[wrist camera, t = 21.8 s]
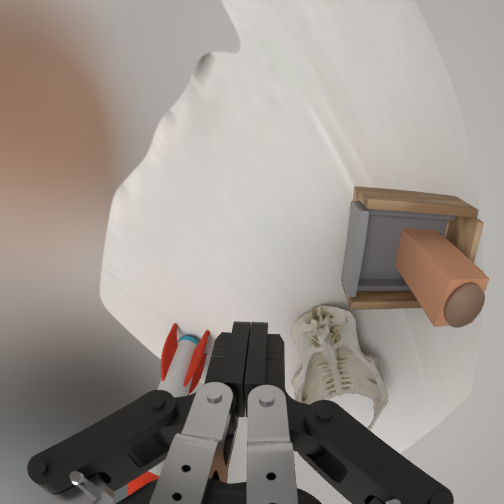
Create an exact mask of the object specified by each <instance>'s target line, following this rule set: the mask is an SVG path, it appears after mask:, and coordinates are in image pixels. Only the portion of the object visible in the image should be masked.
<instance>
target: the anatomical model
mask: <svg viewBox="0 0 504 504" xmlns="http://www.w3.org/2000/svg"><path fill="white" fill-rule="evenodd" d="M291 334H292V338H293V340H294V342H295V344H296V346H297V348H298V351H299V355H300V359H301V363H302V368H301V370H300V372H298V373H297V374H295V376H294V377H293V378H292V379H291V382H292V385H293V386H294V389H295V400H296V401H298V402H301V403H305V404H309V405H310V404H311V403H313V402H315V401H319V400H324V398H325V397H326V399H328V400H329V399H330V398H332V397H334V396H336V395H342V394H344V393H353V394H354V393H355V392H356V393H358V394H361V395H364V396H367V397H369V398H371V399H373V401H374V411H375V413H374V418H373V420H372V422H371V424H370V425H369V426H368V428H367V429H368V430H371V428H372V427H373V425H374V423H375V422H376V420H377V418H378V417H379V415H380V413H381V412H382V410H383V409H384V407H385V406H386V405H387V403H388V394H387V390H386V387H385V385H384V383H383V378H382V375H381V373H380V370H379V366H378V365H379V359H378V358H376V357H373V356H372V355H365V354H364V353H362V352H361V349H360V346H359V342H358V338H357V332H356V319H355V318H354V316H353V315H352V313H351V312H349V311H346V310H344V309H341V308H338V307H330V306H322V305H320V306H318V307H314V308H313V309H312V310H311V311H310V312H309V313H307V314H305V315H303V316H302V317H300V318H299V319H298V320H297V322H296V323H295V324H294V326H293V327H292V329H291ZM348 350H349V351H348ZM346 381H347V383H346ZM344 387H349V389H348V390H344V389H343V388H344ZM333 390H335V392H333V393H330V391H333Z"/></svg>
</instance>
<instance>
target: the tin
mask: <svg viewBox="0 0 504 504" xmlns="http://www.w3.org/2000/svg"><path fill="white" fill-rule="evenodd" d="M395 267H396V269H397V270H398V272H399V273H400V275H401V276H402V277H403V279H404V280H405V282H406V283H407V285H408V286H409V288H410V289H411V291H412V292H413V294H414V295H415V297H416V299H417V300H418V302H419V303H420V305H421V306H422V308H423V310H424V311H425V313H426V314H427V316H428V318H429V319H430V321H431V322H432V324H433V326H434V327H437V326H447V325H451V326H452V327H462V326H465V325H467V324H469V323H473V320H474V319H475V318H476V317H477V315H478V314H479V313H480V311H481V309H482V307H483V304H484V300H485V295H484V292H485V289H486V286H487V284H488V281H489V278H488V277H487V276H486V275H485V274H484V273H483V272H482V271H481V270H480V269H479V268H478V267H477V266H476V265H475V264H474V263H473V262H472V261H471V260H470V259H469V258H467V257H466V256H465V255H464V254H463V253H462V252H461V251H460V250H459V249H458V248H456V247H455V246H454V245H453V244H452V243H451V242H450V241H449V240H447V239H446V238H445V237H444V236H443V235H442V234H440V233H439V232H438V231H437V230H428V229H409V228H402V231H401V237H400V242H399V248H398V253H397V258H396V263H395Z"/></svg>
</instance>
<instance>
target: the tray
mask: <svg viewBox="0 0 504 504" xmlns="http://www.w3.org/2000/svg"><path fill="white" fill-rule="evenodd" d="M455 218H456V216H451V215H441V214H430V213H419V212H407V211H393V210H379V209H367V208H366V207H365V206H364V205H363V204H362V203H361V202H360V201H352V202H351V212H350V221H349V230H348V238H347V246H346V253H345V260H344V267H343V274H342V280H341V281H342V283H343V286H344V289H345V292H346V295H347V297H356V292H357V291H411V289H410V288H409V286H408V285H407V283H406V282H405V280H404V279H403V277H402V276H401V275H400V273H399V272H398V270H397V269H396V267H395V263H396V258H397V253H398V248H399V242H400V237H401V231H402V228H409V229H428V230H437V231H438V232H439V233H440V234H442V235H443V236H445V232H446V227H447V222H448V220H454V221H455Z"/></svg>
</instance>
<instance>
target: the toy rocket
mask: <svg viewBox="0 0 504 504" xmlns="http://www.w3.org/2000/svg"><path fill="white" fill-rule="evenodd" d="M208 336H209V331H208V330H207V331H206V332H205V333H204V335H203V337H202V339H201V340H200V342H198V341H197V340H196V339H194V338H193V337H190V336H183V337H181V338H180V339H179V340H178V341H177V325H176V323H175V324H173V327H172V329H171V331H170V333H169V335H168V337H167V339H166V342H165V344H164V348H163V352H162V357H161V375H162V376H161V377H162V379H161V382H160V384H159V387H158V389H157V390H165V391H167V392H169V393H171V394H172V395H173V397H174V398H175V397H182V396H188V395H189V394H190V393H191V392H192V391H193V390H194V388H195V387H196V386H197V384H198V382H199V380H200V378H201V375H202V372H203V368H204V364H205V360H206V355H207V354H204V351H205V347H206V344H207V340H208ZM165 460H166V459H165ZM165 460H164V461H162V462H161V463H159V464H158V465H156V466H155V467H153V468H152V469H150V470H149V471H147V472H146V473H144V474H142V475H141V476H139V477H138V478H136V479H134V480H133V481H131V482H129V483H128V496H129V495H130V494H132V493H133V492H135V491H136V490H138V489H139V488H141V487H142V486H144V485H145V484H147V483H149V482H151V481H153V480H156V479H158V478H159V476H160V473H161V471H162V468H163V465H164V462H165Z"/></svg>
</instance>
